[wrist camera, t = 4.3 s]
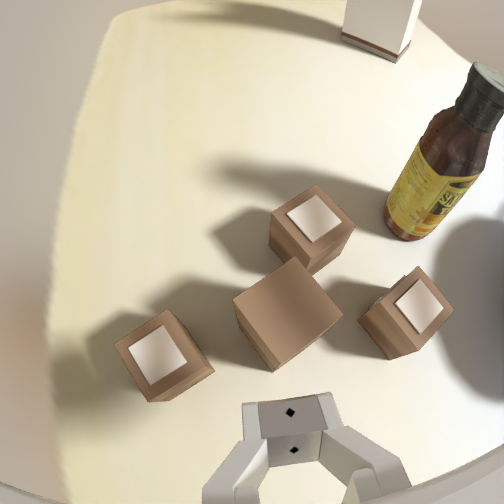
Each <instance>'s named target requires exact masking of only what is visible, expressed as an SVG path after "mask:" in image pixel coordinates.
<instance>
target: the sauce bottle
mask: <svg viewBox="0 0 504 504" xmlns="http://www.w3.org/2000/svg"><path fill="white" fill-rule="evenodd" d="M503 114H504V76H503V75H502V74H501V73H499V72H498V71H497V70H495V69H494V68H492V67H490V66H488V65H486V64H484V63H481V62H474V63H473V64H472V66H471V68H470V70H469V73H468V77H467V82H466V84H465V86H464V88H463V90H462V92H461V94H460V96H459V97H458V98H457V99H456V101H455V105H454V106H452V107H450V108H448V109H446V110H445V109H443V110H442V111H440V112H439V113H437V114H436V115H434V117H433V119H432V120H431V121H430V122H429V125H428V127H427V129H426V131H425V133H424V135H423V136H422V137H421V138H420V140H419V142H418V143H417V145H416V147H415V149H414V151H413V153H412V155H411V156H410V158H409V160H408V162H407V164H406V165H405V167H404V169H403V171H402V173H401V174H400V176H399V178H398V180H397V181H396V183H395V185H394V187H393V188H392V190H391V192H390V194H389V196H388V199H387V201H386V203H385V206H384V218H385V220H386V224H387V225H388V226H389V228H390V229H391V230H392V231H393V232H394V233H395V234H396V235H397V236H398V237H400V238H402V239H405V240H408V241H416V240H420V239H423V238H424V237H425V236H427V235H428V234H430V233H431V232H432V231H433V230H434V229H435V228H436V227H437V226H438V225H439V223H440V222H441V221H442V220H443V219H444V218H445V217H446V215H447V214H448V213H449V212H450V211H451V210H452V209H453V207H454V206H455V205H456V204H457V203H458V201H459V200H460V199H461V198H462V197H463V195H464V194H465V193H466V192H467V190H468V189H469V188H470V187H471V185H472V184H473V183H474V182H475V181H476V179H477V178H478V177H479V175H480V174H481V173H482V171H483V170H484V167H485V163H486V159H487V155H488V150H489V146H490V141H491V137H492V133H493V131H494V130H495V128H496V125H497V123H498V122H499V120H500V119H501V117H502V116H503Z"/></svg>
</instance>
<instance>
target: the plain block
mask: <svg viewBox="0 0 504 504" xmlns="http://www.w3.org/2000/svg"><path fill="white" fill-rule="evenodd" d="M232 300H233V304H234V308H235V312H236V316H237V320H238V324H239V328H240V329H241V331H242V332H243V333H244V335H245V336H246V337H247V339H248V340H249V341H250V343H251V344H252V345H253V347H254V348H255V349H256V351H257V352H258V353H259V355H260V356H261V357H262V359H263V360H264V361H265V363H266V364H267V365H268V367H269V368H270V369H271V370H272V372H275V371H276V370H277V369H279V368H280V367H282V366H283V365H284V364H286V363H287V362H288V361H290V360H291V359H292V358H294V357H295V356H296V355H298V354H299V353H300V352H302V351H303V350H304V349H305V348H307V347H308V346H309V345H311V344H312V343H313V342H314V341H316V340H317V339H318V338H319V337H320V336H322V335H323V334H324V333H325V332H326V331H327V330H328V329H329V328H330V327H331V326H332V325H333V324H335V323H336V322H337V321H338V320H339V319H340V318H341V317H342V316H343V315H344V314H343V313H342V312H341V311H340V309H339V308H338V307H337V306H336V305H335V303H334V302H333V301H332V300H331V299H330V297H329V296H328V295H327V294H326V293H325V291H324V290H323V289H322V288H321V286H320V285H319V284H318V283H317V282H316V280H315V279H314V278H313V277H312V276H311V274H310V273H309V272H308V271H307V270H306V269H305V267H304V266H303V265H302V264H301V263H300V261H299V260H298V259H297V258H296V257H293V258H292V259H290V260H289V261H287V262H286V263H285V264H283V265H282V266H280V267H279V268H277V269H276V270H275V271H273V272H272V273H270V274H269V275H267V276H266V277H265V278H263V279H262V280H260V281H259V282H257V283H256V284H254V285H253V286H251V287H250V288H249V289H247V290H246V291H244V292H243V293H241V294H240V295H238V296H237V297H235V298H234V299H232Z"/></svg>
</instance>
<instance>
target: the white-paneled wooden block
mask: <svg viewBox="0 0 504 504" xmlns="http://www.w3.org/2000/svg"><path fill="white" fill-rule="evenodd" d="M355 226H356V225H355V224H354V223H353V222H352V220H351V219H350V218H349V217H348V216H347V215H346V214H345V213H344V212H343V211H342V210H341V209H340V208H339V207H338V206H337V205H336V204H335V203H334V202H333V201H332V199H331V198H330V197H329V196H328V195H327V194H326V193H325V192H324V191H323V190H322V189H321V188H320V187H319V186H318V185H317V184H316V185H315V186H313V187H311V188H310V189H308V190H307V191H305V192H303V193H302V194H300V195H298V196H297V197H295V198H294V199H292V200H290V201H289V202H287V203H286V204H284V205H282V206H281V207H279V208H278V209H276V210H274V211H273V212H271V222H270V235H269V246H270V247H271V248H272V249H273V250H274V252H275V253H276V254H277V255H278V257H279V258H280V259H281V260H282V261H283V263H284V264H285V263H286V262H287V261H289V260H290V259H292V258H293V257H296V258H297V259H298V260H299V261H300V263H301V264H302V265H303V266H304V267H305V269H306V270H307V271H308V272H309V273H310V274H311V276H312V275H314V274H315V273H316V272H318V271H319V270H320V269H322V268H323V267H324V266H326V265H327V264H328V263H330V262H331V261H332V260H334V259H335V258H336V257H338V256H339V255H340V253H341V252H342V250H343V248H344V246H345V244H346V242H347V241H348V239H349V237H350V235H351V233H352V231H353V229H354V227H355Z"/></svg>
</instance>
